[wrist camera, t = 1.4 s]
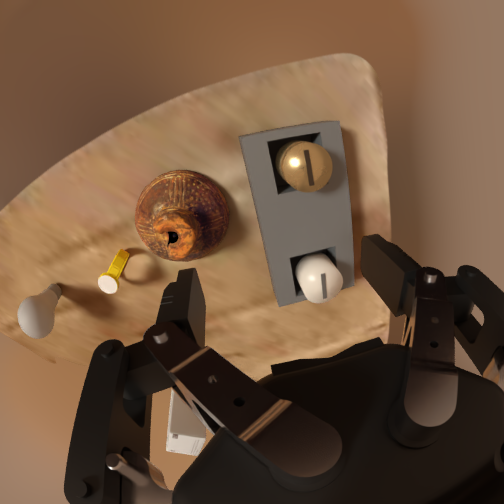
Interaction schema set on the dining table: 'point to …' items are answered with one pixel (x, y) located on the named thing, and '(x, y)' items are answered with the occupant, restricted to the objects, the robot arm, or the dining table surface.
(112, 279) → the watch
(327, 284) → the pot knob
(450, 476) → the robot arm
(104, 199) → the dining table surface
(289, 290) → the knob mount
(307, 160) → the brass knob
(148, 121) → the dining table surface
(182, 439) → the skincare box
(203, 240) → the broken clay vessel
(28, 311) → the lightbulb
